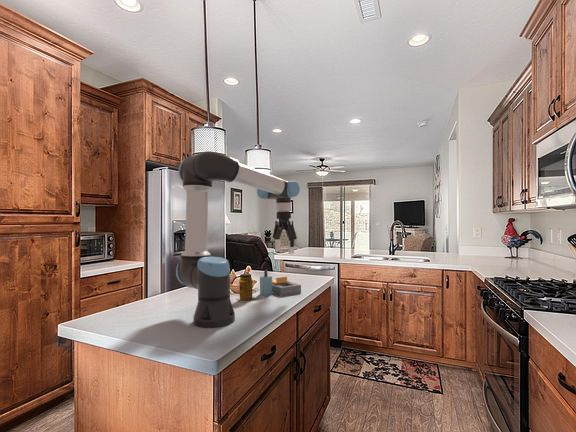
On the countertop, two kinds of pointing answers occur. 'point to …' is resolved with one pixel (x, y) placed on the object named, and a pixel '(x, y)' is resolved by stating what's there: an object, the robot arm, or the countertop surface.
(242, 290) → the condiment
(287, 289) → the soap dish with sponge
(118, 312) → the countertop surface
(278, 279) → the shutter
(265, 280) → the light blue bottle
